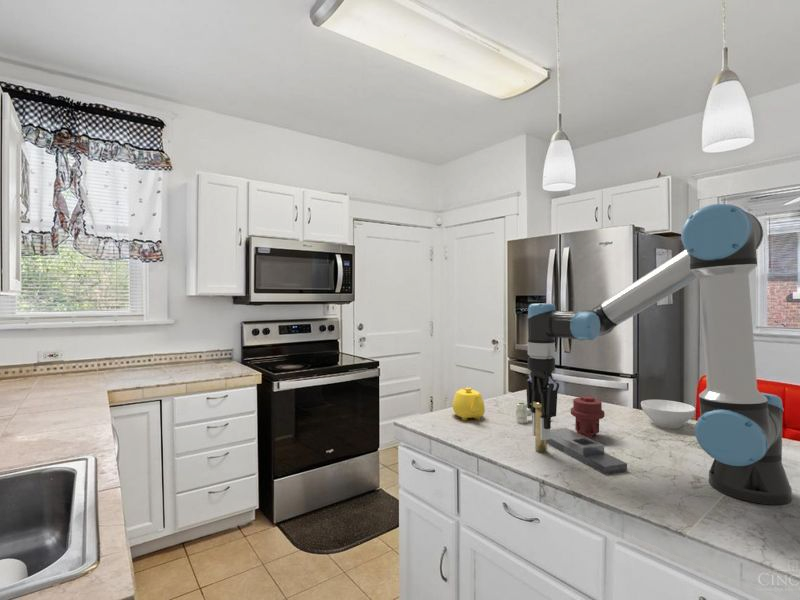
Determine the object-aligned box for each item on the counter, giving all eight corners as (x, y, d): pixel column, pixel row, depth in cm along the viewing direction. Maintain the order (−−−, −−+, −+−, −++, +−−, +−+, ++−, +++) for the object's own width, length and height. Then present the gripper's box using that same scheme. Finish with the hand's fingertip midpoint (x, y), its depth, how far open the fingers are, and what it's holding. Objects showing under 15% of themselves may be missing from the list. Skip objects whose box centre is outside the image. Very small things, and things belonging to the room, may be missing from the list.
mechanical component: (600, 431, 145) (608, 441, 135) (568, 429, 147) (573, 439, 137) (600, 394, 145) (608, 402, 135) (568, 393, 147) (573, 400, 137)
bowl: (697, 436, 140) (697, 414, 140) (640, 428, 148) (640, 407, 148) (693, 422, 154) (693, 402, 153) (641, 416, 162) (641, 397, 161)
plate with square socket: (627, 471, 113) (627, 455, 113) (604, 474, 111) (604, 458, 111) (566, 440, 136) (566, 427, 136) (546, 443, 134) (546, 430, 134)
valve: (523, 425, 152) (549, 420, 157) (523, 406, 152) (549, 402, 157) (510, 420, 158) (536, 416, 163) (510, 402, 158) (536, 398, 163)
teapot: (493, 423, 154) (493, 393, 154) (464, 425, 152) (463, 395, 151) (473, 409, 172) (473, 382, 172) (446, 411, 169) (446, 384, 169)
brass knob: (552, 452, 126) (552, 403, 126) (538, 454, 125) (539, 405, 125) (543, 447, 131) (543, 399, 130) (529, 449, 129) (529, 401, 129)
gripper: (570, 360, 121) (570, 445, 121) (535, 352, 136) (535, 427, 137) (547, 361, 118) (547, 448, 119) (514, 353, 134) (514, 429, 134)
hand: (541, 436), depth 128 cm, fingers closed on brass knob, 3 cm apart
